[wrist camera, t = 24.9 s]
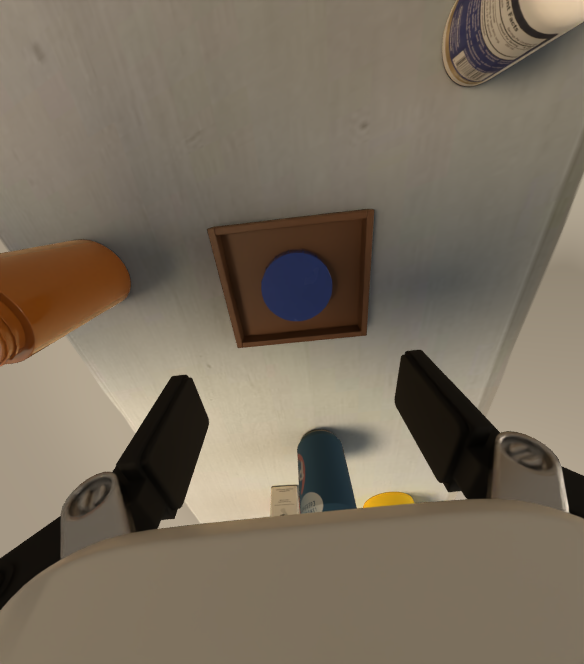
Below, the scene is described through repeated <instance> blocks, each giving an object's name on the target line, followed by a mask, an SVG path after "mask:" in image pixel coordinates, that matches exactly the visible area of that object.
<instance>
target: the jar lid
mask: <svg viewBox="0 0 584 664" xmlns="http://www.w3.org/2000/svg"><path fill="white" fill-rule="evenodd" d="M261 283H262V284H261V292H262V297H263V300H264V302H265V304H266V305H267V307H268V308H269V309H270V311H272V312H273V313H274V314H275V315H277V316H278V317H280V318H282V319H285V320H288V321H304V320H308V319H310V318H313V317H315V316H316V315H318V314H319V313H320V312H321V311H322V310H323V309H324V308H325V307H326V305H327V304H328V302H329V300H330V297H331V294H332V279H331V275H330V273H329V271H328V269H327V266H326V264H324V263H323V262H322V260H321V259H320V258H319V257H317V255H316V254H315V255H314V254H313V253H311V252H308V251H305V250H303V249H302V250H296V249H295V250H288V251H285V252H283V253H281V254H279V255H277V256H275V258H273V259H272V261H271V262H270V263H269V264H268V266H266V268H265V272H264V275H263V279H262V281H261Z"/></svg>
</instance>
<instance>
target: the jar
mask: <svg viewBox="0 0 584 664" xmlns="http://www.w3.org/2000/svg"><path fill="white" fill-rule="evenodd" d="M130 287H131V281H130V276H129V273H128V271H127V269H126V267H125V265H124V264H123V262H122V261H121V260H120V259H119V257H118V256H117V255H116V254H115V253H113V252H112V251H111V250H110V249H108V248H107V247H105V246H103V245H101V244H99V243H97V242H94V241H90V240H85V239H78V240H72V241H66V242H61V243H55V244H49V245H44V246H38V247H33V248H27V249H22V250H16V251H10V252H5V253H0V366H2V365H4V364H13V363H18V362H21V361H24V360H25V359H27V358H29V357H30V356H32V355H34V354H35V353H37V352H39V351H40V350H42V349H44V348H45V347H47V346H48V345H50V344H52V343H53V342H55V341H57V340H59V339H60V338H62V337H64V336H65V335H67V334H69V333H70V332H72V331H73V330H75V329H77V328H78V327H80V326H82V325H83V324H85V323H87V322H88V321H90V320H92V319H93V318H95V317H97V316H98V315H100V314H102V313H103V312H105V311H107V310H108V309H110V308H112V307H113V306H115V305H117V304H118V303H120V302H122V301H123V300H124V299H125V298H126V297H127V296H128V294H129V292H130Z"/></svg>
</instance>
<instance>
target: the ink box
mask: <svg viewBox="0 0 584 664" xmlns="http://www.w3.org/2000/svg"><path fill="white" fill-rule="evenodd" d="M294 514H300V505H299V498H298V491H297V486H296V485H295V486H282V487H272V488H271V508H270V517H274V516H284V515H294Z"/></svg>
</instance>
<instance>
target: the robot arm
mask: <svg viewBox="0 0 584 664" xmlns="http://www.w3.org/2000/svg"><path fill="white" fill-rule="evenodd" d="M395 405H396V407H397V409H398V411H399V413H400V415H401V416H402V418H403V420H404V422H405V424H406V425H407V427H408V429H409V431H410V432H411V434H412V436H413V438H414V440H415V441H416V443H417V445H418V447H419V449H420V450H421V452H422V454H423V456H424V457H425V459H426V461H427V463H428V465H429V466H430V468H431V470H432V472H433V474H434V475H435V477H436V479H437V480H438V481H439V482H440V483H443V484H444V486H445V487H446V489H447V491H448V492H455V491H462V492H463V494H464V496H465V497H466V498H467V499H465V500H451V501H437V502H423V503H412V504H401V505H390V506H379V507H368V508H357V509H346V510H336V511H325V512H315V513H304V514H294V515H284V516H274V517H263V518H253V519H244V520H234V521H224V522H214V523H204V524H195V525H187V526H178V527H170V528H161V529H157V528H158V526H159V524H160V521H161V520H165V519H175V516H176V513H177V510H178V509H179V508H181V507H182V505H183V503H184V500H185V497H186V494H187V490H188V487H189V484H190V481H191V478H192V475H193V472H194V469H195V466H196V463H197V460H198V457H199V454H200V451H201V448H202V445H203V442H204V438H205V435H206V432H207V429H208V426H209V419H208V416H207V414H206V411H205V409H204V406H203V404H202V401H201V399H200V396H199V394H198V391H197V389H196V386H195V384H194V382H193V379H192V378H189V377H188V376H187V375H178V376H172V377H171V378H170V380H169V382H168V383H167V385H166V386H165V388H164V389H163V391H162V393H161V394H160V396H159V397H158V399H157V401H156V402H155V404H154V405H153V407H152V408H151V410H150V412H149V413H148V415H147V416H146V418H145V420H144V421H143V423H142V424H141V426H140V427H139V429H138V431H137V432H136V434H135V435H134V437H133V439H132V440H131V442H130V444H129V445H128V446H127V448H126V450H125V451H124V453H123V454H122V456H121V458H120V459H119V461H118V462H117V464H116V467H115V469H114V470H113V472H102V473H99V474H96V475H94V476H92V477H90V478H89V479H87V480H86V481H84V482H83V483H81V484H80V485H79V486H78V487H77V488H76V489H75V490H74V491H73V492H72V493H71V494H70V496H69V497H68V498H67V499H66V501H65V503H64V505H63V507H62V511H61V516H60V517H58V518H57V519H56V520H54V521H53V522H51V523H50V524H48V525H47V526H46V527H44V528H43V529H41V530H40V531H39V532H37V533H36V534H34V535H33V536H31V537H30V538H29V539H27V540H26V541H24V542H23V543H22V544H20V545H19V546H17V547H16V548H14V549H13V550H12V551H10V552H9V553H8V554H6V555H4V556H3V557H2V558H0V664H584V476H583V475H580V474H578V473H576V472H573V471H571V470H569V469H567V468H564V467H562V466H561V464H560V462H559V459H558V458H557V456H556V455H555V454H554V453H553V452H552V451H551V450H550V449H549V448H548V447H547V446H545V445H544V444H543V443H541V442H539V441H538V440H536V439H534V438H532V437H530V436H527V435H525V434H522V433H518V432H511V431H506V432H501V433H500V432H499V431H498V430H497V429H496V428H495V427H494V426H493V425H492V424H491V423H490V421H489V420H488V419H487V418H486V417H485V416H484V415H483V414H482V413H481V412H480V411H479V410H478V409H477V408H476V407H475V406H474V405H473V404H472V403H471V401H470V400H469V399H468V398H467V397H466V396H465V395H464V394H463V393H462V392H461V391H460V390H459V389H458V388H457V387H456V386H455V385H454V384H453V382H452V381H450V380H449V379H448V377H447V376H446V375H445V374H444V373H443V372H442V371H441V370H440V369H439V368H438V367H437V366H436V365H435V364H434V363H433V362H432V361H431V360H430V358H429V357H428V356H427V355H426V354H425V353H424V352H423V351H422V350H412V351H406V352H405V355H402V356H401V361H400V367H399V374H398V380H397V387H396V393H395Z"/></svg>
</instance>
